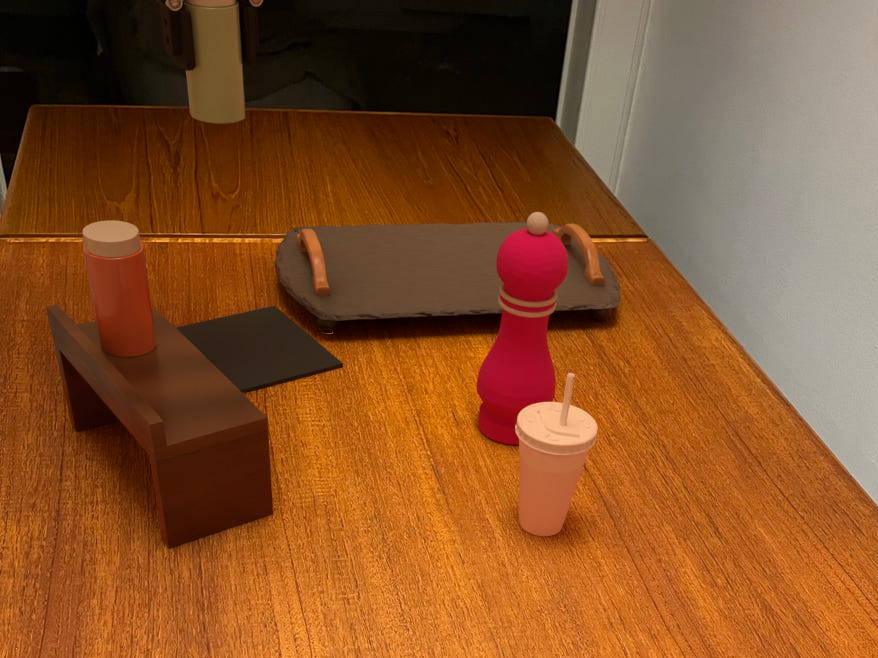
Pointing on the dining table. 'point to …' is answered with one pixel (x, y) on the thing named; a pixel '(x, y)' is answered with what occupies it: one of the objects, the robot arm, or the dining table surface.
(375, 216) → the dining table surface
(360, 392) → the dining table surface
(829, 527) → the dining table surface
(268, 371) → the mat
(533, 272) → the pepper mill
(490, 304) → the serving tray
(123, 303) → the terracotta shaker
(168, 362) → the spice shelf
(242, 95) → the green shaker
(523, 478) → the smoothie
